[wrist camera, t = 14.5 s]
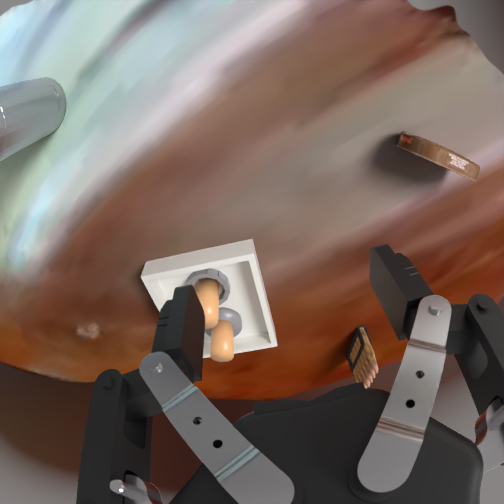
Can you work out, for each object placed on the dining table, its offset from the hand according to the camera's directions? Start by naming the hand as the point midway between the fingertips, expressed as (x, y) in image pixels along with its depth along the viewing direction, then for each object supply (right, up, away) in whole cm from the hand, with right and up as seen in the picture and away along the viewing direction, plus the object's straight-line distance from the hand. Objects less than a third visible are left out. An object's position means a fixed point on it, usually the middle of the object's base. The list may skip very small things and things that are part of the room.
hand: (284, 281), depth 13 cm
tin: (+26, +18, +27) cm, 41 cm away
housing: (-8, -7, +41) cm, 42 cm away
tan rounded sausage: (-9, -4, +37) cm, 39 cm away
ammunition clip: (+22, -19, +51) cm, 59 cm away
